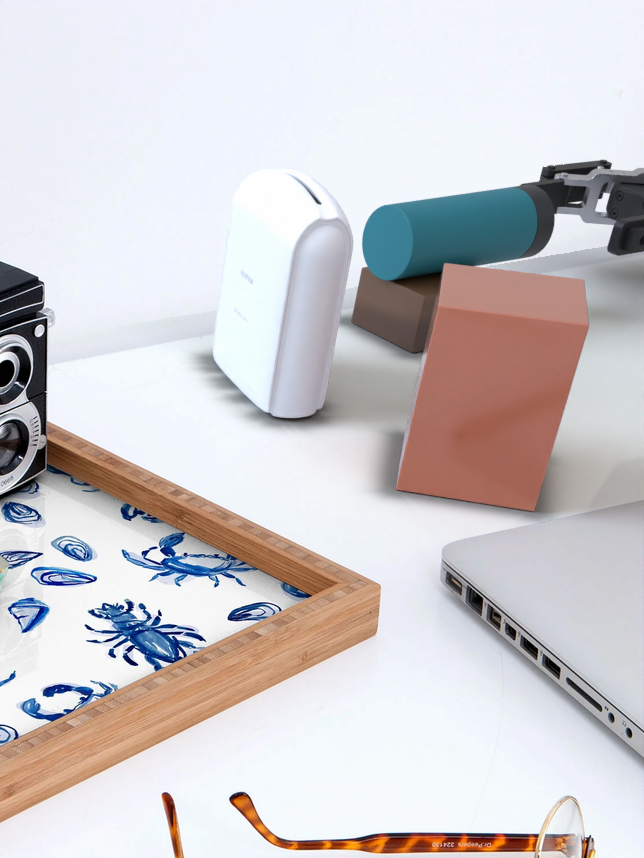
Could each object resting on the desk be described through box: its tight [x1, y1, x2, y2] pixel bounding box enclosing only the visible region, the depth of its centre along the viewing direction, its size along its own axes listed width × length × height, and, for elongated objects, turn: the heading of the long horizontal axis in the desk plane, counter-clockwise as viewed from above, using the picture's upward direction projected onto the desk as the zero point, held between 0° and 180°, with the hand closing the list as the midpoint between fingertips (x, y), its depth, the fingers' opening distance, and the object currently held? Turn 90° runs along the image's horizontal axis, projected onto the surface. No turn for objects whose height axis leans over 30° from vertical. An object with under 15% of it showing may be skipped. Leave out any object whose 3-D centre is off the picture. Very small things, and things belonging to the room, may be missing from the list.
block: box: [350, 266, 442, 354], centre depth 96 cm, size 6×6×4 cm
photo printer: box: [212, 167, 354, 419], centre depth 85 cm, size 10×4×12 cm, turn 11°
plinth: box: [395, 263, 590, 512], centre depth 76 cm, size 7×7×10 cm
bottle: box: [361, 185, 556, 281], centre depth 95 cm, size 12×5×5 cm, turn 116°
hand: (564, 219), depth 97 cm, fingers open, 8 cm apart
